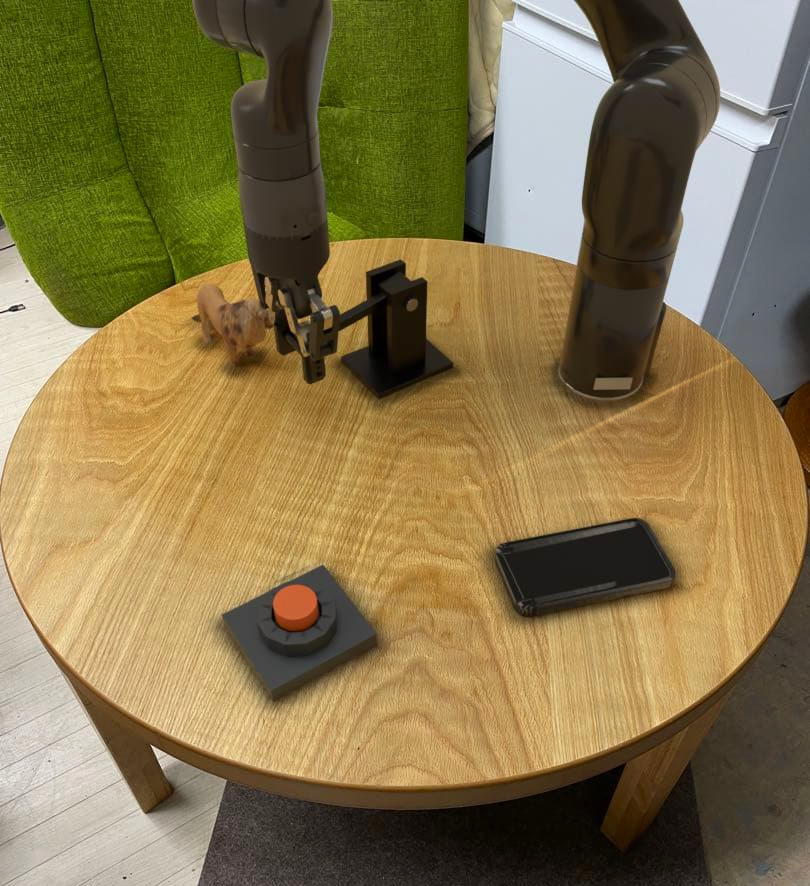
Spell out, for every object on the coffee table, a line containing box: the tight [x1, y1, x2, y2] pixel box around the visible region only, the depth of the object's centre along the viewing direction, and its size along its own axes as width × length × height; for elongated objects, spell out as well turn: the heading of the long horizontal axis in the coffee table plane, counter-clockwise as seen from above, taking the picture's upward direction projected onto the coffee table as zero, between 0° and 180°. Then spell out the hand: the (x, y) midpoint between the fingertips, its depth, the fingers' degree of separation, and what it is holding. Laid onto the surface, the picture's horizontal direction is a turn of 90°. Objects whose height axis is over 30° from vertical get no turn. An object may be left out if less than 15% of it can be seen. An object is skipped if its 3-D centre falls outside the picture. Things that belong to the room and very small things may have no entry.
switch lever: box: [283, 272, 412, 356], centre depth 89 cm, size 14×5×2 cm, turn 124°
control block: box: [221, 564, 378, 703], centre depth 73 cm, size 10×9×4 cm
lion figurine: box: [191, 283, 274, 367], centre depth 97 cm, size 15×5×9 cm, turn 46°
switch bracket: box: [340, 259, 454, 400], centre depth 94 cm, size 10×8×12 cm
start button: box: [273, 585, 319, 632], centre depth 71 cm, size 4×4×2 cm
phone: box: [494, 517, 677, 618], centre depth 79 cm, size 8×1×15 cm
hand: (301, 365), depth 90 cm, fingers closed on switch lever, 5 cm apart
